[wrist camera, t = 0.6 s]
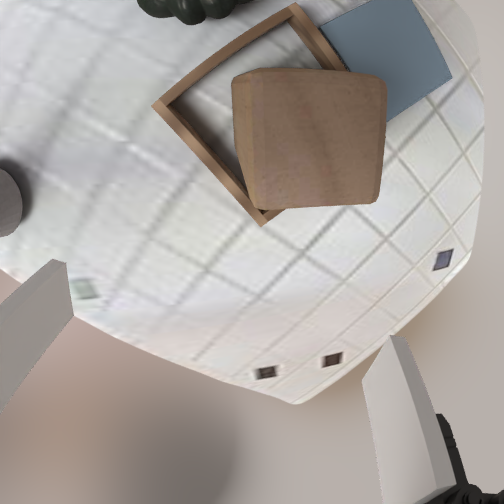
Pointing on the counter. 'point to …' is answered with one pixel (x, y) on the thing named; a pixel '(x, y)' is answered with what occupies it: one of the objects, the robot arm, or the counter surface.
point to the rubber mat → (390, 50)
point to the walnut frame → (163, 104)
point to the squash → (189, 9)
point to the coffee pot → (9, 204)
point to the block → (309, 136)
